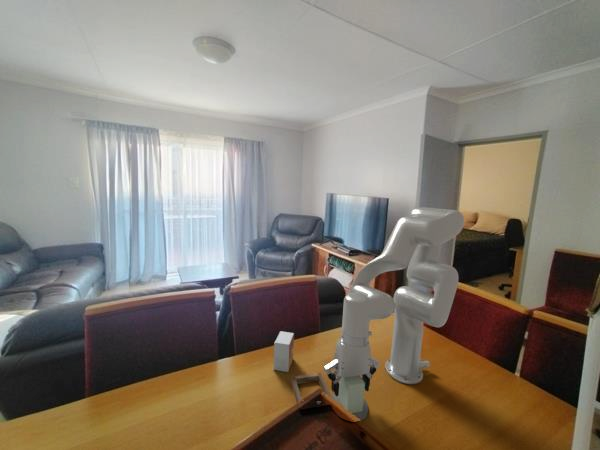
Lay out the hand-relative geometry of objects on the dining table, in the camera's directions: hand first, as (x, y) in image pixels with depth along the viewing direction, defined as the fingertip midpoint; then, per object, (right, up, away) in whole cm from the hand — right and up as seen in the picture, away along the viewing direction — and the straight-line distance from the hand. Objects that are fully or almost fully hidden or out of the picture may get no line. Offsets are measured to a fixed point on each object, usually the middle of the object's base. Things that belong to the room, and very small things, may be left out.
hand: (350, 390), depth 76 cm
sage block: (0, -5, +1) cm, 5 cm away
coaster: (0, -5, +1) cm, 5 cm away
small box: (-21, -2, +18) cm, 28 cm away
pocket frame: (-12, -4, +5) cm, 13 cm away
